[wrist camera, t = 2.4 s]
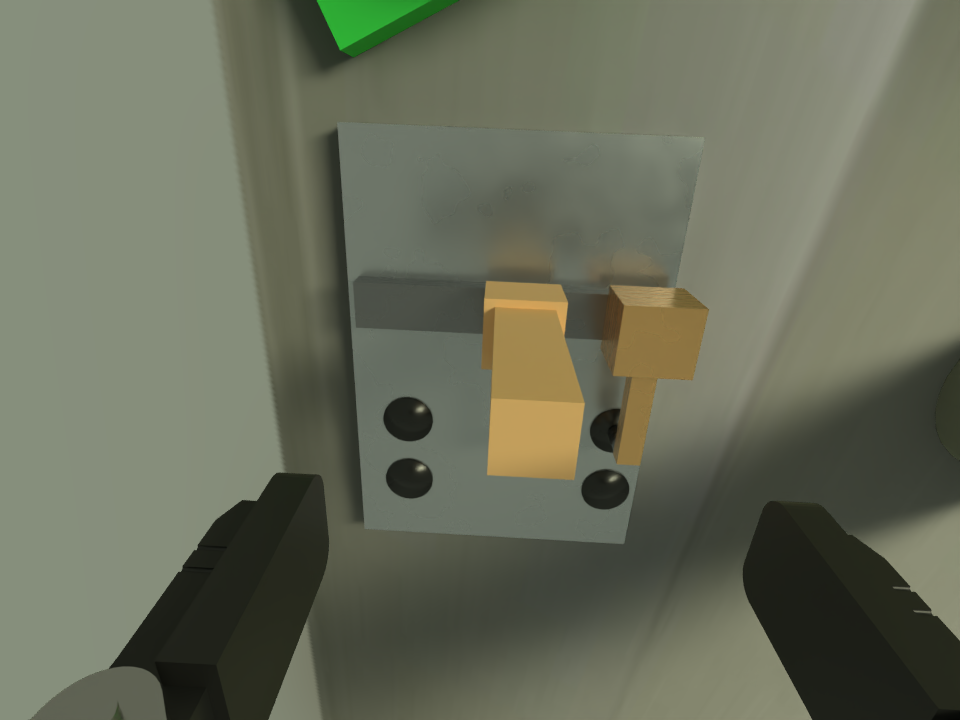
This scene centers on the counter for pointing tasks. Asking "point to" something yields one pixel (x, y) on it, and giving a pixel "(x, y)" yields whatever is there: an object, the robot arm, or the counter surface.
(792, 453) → the counter surface
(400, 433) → the plate
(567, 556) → the counter surface
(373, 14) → the mechanical part
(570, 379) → the leg
